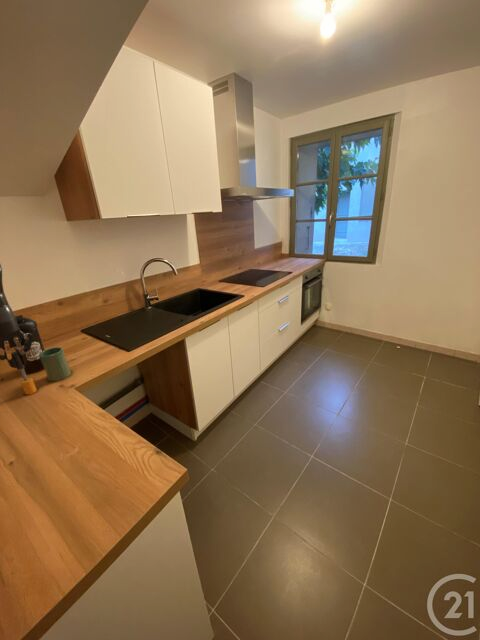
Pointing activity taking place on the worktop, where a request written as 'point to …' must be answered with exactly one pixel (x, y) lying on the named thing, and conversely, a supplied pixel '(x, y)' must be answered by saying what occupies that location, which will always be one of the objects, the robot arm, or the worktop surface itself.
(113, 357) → the worktop surface
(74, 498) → the worktop surface
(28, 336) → the robot arm
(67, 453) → the worktop surface
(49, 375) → the cup
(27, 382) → the brush
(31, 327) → the water bottle
